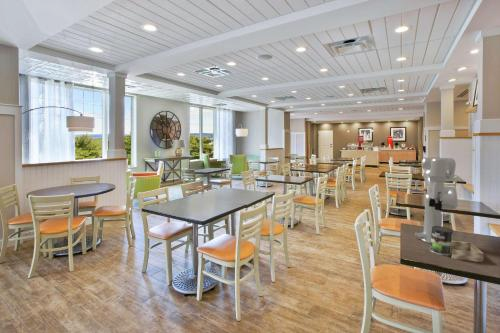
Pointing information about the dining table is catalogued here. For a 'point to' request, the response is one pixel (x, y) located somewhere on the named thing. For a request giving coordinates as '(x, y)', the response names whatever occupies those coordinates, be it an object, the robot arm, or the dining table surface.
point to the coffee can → (441, 240)
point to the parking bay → (466, 251)
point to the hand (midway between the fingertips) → (434, 208)
